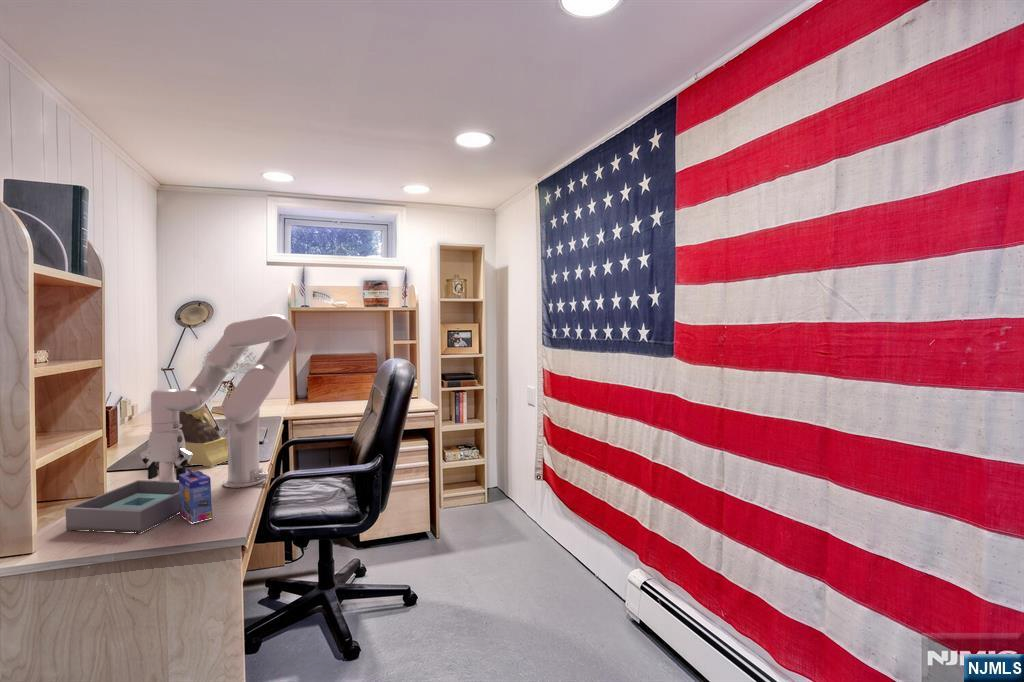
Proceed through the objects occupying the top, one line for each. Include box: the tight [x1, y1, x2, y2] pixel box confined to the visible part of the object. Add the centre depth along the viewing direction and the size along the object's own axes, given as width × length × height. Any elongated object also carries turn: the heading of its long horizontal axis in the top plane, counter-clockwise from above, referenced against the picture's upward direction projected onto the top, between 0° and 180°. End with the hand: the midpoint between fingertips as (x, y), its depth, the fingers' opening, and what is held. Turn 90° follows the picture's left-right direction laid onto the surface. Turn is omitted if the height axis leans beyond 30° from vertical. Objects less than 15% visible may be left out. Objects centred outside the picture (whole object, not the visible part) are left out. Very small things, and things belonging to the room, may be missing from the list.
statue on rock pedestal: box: [179, 405, 228, 468], centre depth 196 cm, size 28×13×30 cm, turn 76°
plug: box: [158, 462, 175, 482], centre depth 162 cm, size 4×4×10 cm
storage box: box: [65, 479, 180, 533], centre depth 141 cm, size 21×23×6 cm
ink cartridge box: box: [178, 467, 214, 523], centre depth 140 cm, size 10×6×14 cm, turn 51°
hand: (166, 478), depth 162 cm, fingers open, 9 cm apart
